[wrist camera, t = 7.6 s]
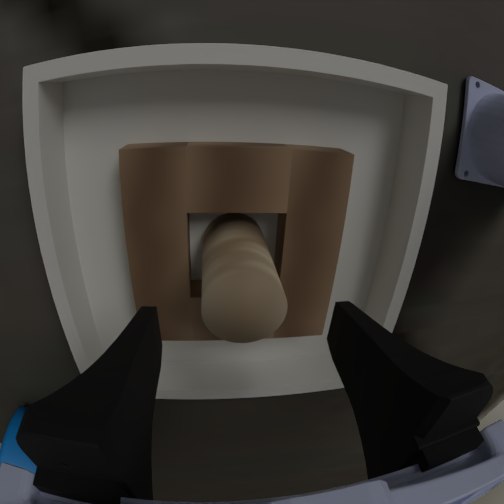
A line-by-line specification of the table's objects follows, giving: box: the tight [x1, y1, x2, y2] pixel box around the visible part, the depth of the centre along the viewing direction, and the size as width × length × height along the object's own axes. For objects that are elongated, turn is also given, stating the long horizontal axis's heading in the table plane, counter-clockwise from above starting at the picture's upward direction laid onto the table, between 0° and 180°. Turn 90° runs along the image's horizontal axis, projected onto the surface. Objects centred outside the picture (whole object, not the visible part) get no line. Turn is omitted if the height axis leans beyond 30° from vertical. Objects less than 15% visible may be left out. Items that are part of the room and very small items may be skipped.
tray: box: [23, 43, 448, 399], centre depth 19 cm, size 22×22×4 cm
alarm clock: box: [0, 406, 37, 474], centre depth 21 cm, size 13×6×15 cm, turn 148°
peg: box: [201, 213, 288, 343], centre depth 17 cm, size 4×4×7 cm
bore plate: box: [119, 142, 354, 341], centre depth 19 cm, size 12×12×2 cm
